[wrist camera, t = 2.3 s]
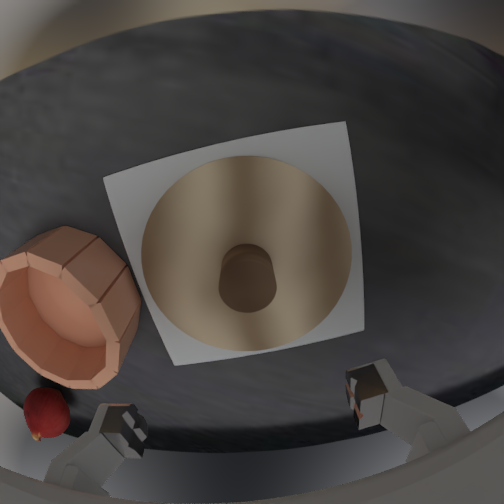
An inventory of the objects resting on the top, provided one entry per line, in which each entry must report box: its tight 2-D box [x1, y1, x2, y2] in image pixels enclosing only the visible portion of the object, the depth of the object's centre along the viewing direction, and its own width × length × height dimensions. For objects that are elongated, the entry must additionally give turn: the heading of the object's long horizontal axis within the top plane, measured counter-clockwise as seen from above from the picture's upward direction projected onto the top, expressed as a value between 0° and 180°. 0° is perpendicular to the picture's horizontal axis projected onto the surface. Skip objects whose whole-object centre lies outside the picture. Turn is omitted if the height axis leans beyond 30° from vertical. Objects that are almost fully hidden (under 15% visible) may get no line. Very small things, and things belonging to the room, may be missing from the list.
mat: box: [103, 121, 364, 366], centre depth 22 cm, size 17×17×1 cm
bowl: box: [0, 226, 141, 389], centre depth 20 cm, size 12×12×6 cm
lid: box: [141, 156, 352, 351], centre depth 20 cm, size 15×15×4 cm
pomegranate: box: [23, 387, 70, 441], centre depth 24 cm, size 6×6×8 cm
